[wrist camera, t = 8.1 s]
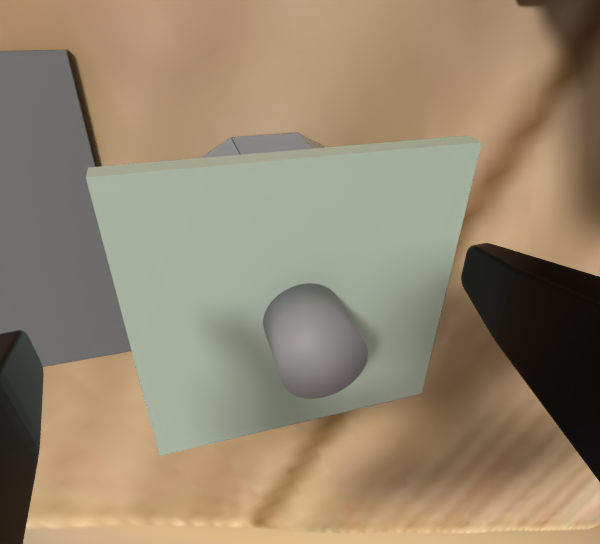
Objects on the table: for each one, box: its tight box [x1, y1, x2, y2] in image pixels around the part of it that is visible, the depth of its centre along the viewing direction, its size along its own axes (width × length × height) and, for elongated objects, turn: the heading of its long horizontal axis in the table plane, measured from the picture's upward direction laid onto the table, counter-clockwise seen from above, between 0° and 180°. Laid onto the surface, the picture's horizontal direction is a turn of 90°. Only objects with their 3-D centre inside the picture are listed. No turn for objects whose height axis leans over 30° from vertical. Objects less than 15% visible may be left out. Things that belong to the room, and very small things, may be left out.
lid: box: [86, 136, 482, 456], centre depth 17 cm, size 13×13×4 cm
